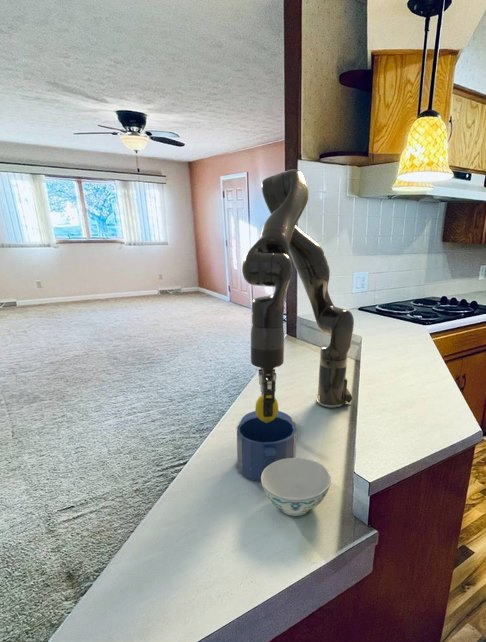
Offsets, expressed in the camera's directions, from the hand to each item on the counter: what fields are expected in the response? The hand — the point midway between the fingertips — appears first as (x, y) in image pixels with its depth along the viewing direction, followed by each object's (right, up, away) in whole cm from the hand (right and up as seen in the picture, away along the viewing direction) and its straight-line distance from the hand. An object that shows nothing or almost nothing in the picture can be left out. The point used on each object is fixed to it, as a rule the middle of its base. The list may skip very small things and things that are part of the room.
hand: (266, 410), depth 100 cm
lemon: (0, -3, +1) cm, 4 cm away
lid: (-3, -5, +26) cm, 27 cm away
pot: (-1, -14, +6) cm, 15 cm away
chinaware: (+7, -21, -9) cm, 24 cm away
